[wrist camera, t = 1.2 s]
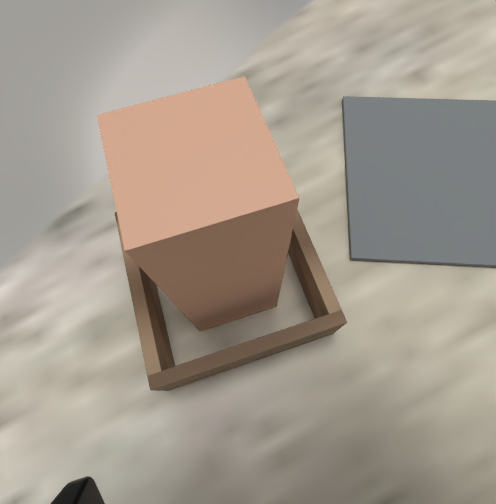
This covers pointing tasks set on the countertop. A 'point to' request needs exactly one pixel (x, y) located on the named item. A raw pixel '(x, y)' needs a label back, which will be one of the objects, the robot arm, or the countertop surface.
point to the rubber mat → (421, 180)
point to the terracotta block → (202, 199)
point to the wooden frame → (171, 376)
